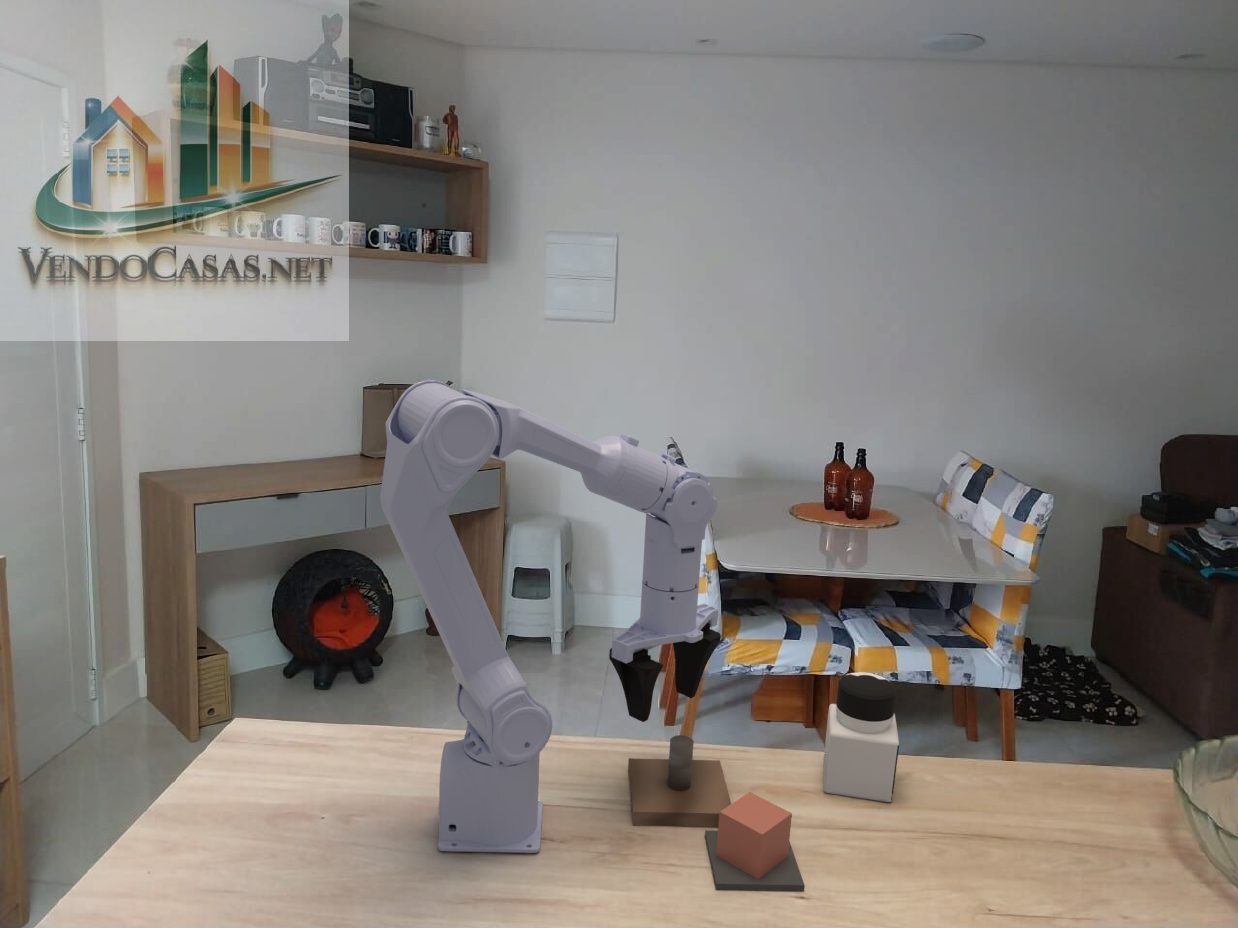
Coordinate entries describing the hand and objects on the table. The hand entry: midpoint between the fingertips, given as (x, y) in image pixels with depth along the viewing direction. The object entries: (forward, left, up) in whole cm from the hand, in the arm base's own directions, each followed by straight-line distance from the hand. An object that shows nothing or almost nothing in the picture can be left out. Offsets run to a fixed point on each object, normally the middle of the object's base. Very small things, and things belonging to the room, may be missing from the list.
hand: (662, 705), depth 101 cm
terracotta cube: (+8, -12, -9) cm, 17 cm away
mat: (+8, -13, -9) cm, 18 cm away
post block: (+2, -2, -9) cm, 10 cm away
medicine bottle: (+22, +2, -10) cm, 24 cm away
